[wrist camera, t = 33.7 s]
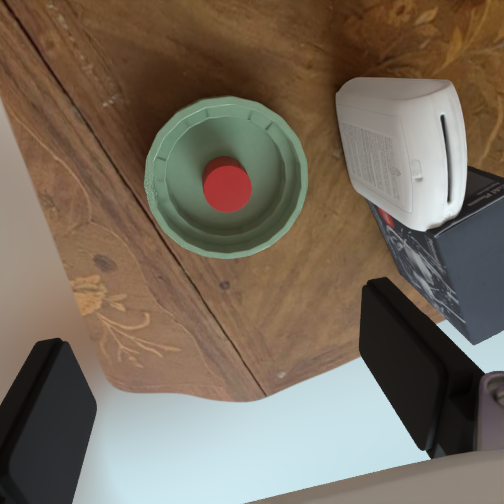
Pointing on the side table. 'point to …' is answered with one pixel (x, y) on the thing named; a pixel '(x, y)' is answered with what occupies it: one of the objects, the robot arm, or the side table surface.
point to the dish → (248, 154)
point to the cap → (226, 184)
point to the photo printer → (405, 147)
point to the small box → (458, 258)
